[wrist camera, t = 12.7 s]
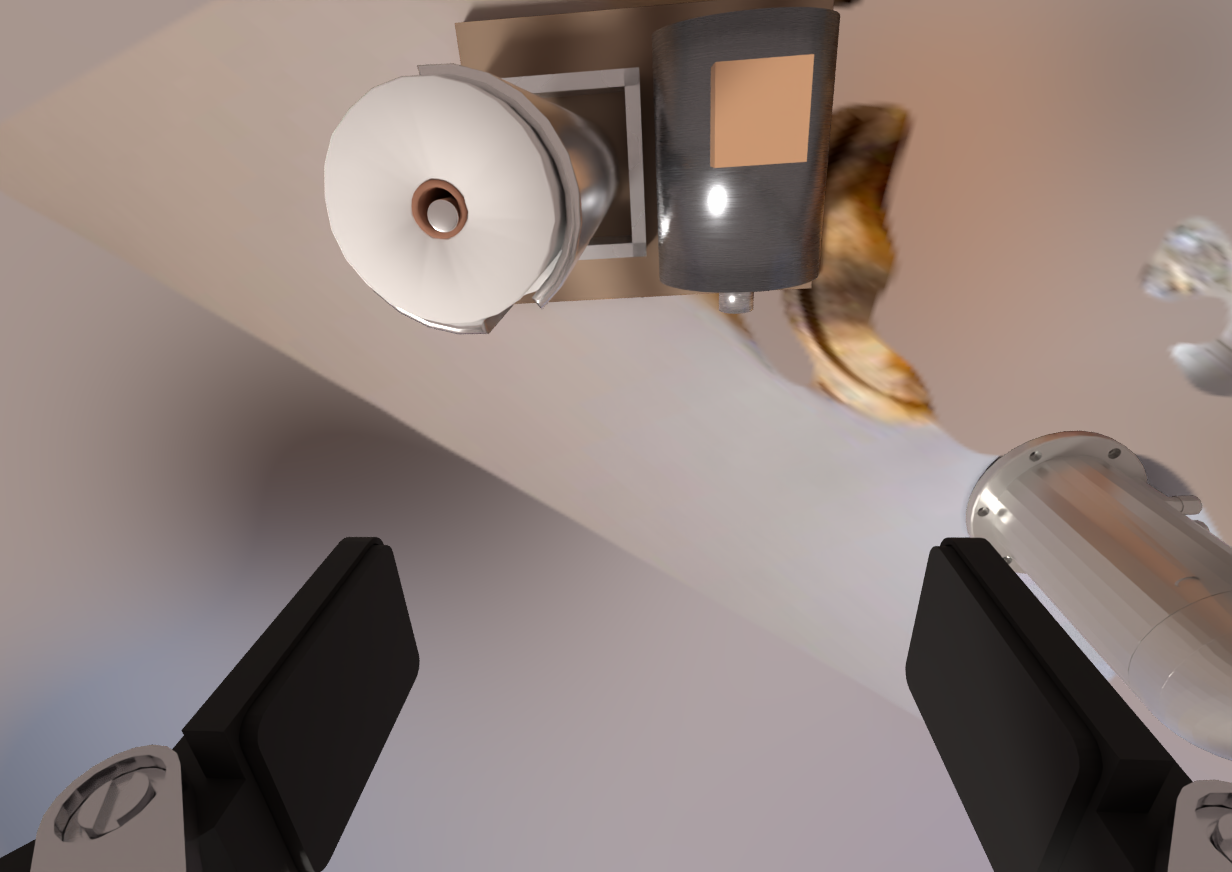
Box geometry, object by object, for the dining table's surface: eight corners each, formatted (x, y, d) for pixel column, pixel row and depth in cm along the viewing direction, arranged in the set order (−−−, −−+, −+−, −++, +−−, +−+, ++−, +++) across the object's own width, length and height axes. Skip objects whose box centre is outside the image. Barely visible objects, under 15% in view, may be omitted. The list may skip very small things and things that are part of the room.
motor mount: (828, -5, 33) (918, -80, 22) (806, 284, 40) (866, 335, 29) (460, 26, 34) (375, -29, 24) (501, 300, 41) (450, 355, 31)
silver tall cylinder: (514, 223, 38) (324, 333, 16) (517, 108, 35) (286, 41, 13) (615, 234, 38) (569, 359, 16) (625, 120, 35) (587, 72, 13)
